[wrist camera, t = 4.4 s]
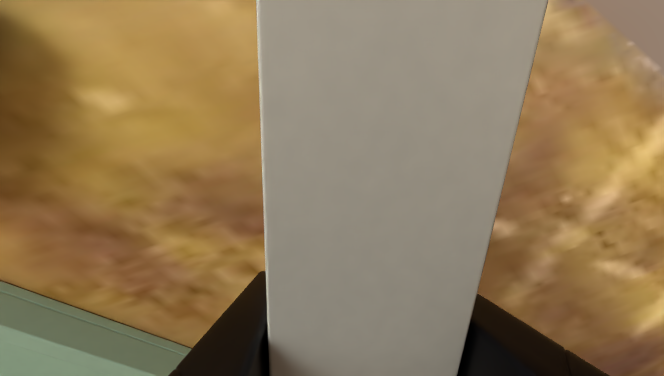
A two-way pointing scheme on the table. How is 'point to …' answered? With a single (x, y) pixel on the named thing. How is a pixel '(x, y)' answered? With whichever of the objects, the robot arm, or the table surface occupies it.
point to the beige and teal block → (384, 174)
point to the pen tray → (75, 341)
